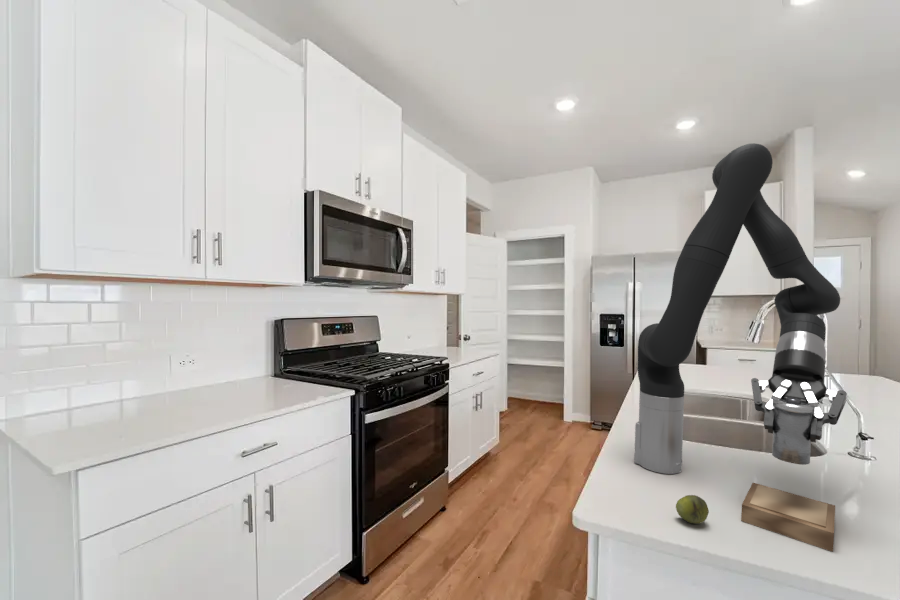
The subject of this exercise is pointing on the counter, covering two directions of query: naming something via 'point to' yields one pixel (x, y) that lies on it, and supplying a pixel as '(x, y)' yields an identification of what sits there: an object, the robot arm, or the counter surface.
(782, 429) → the grey lidded canister
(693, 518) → the lime
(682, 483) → the counter surface
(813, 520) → the stand
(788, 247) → the robot arm
